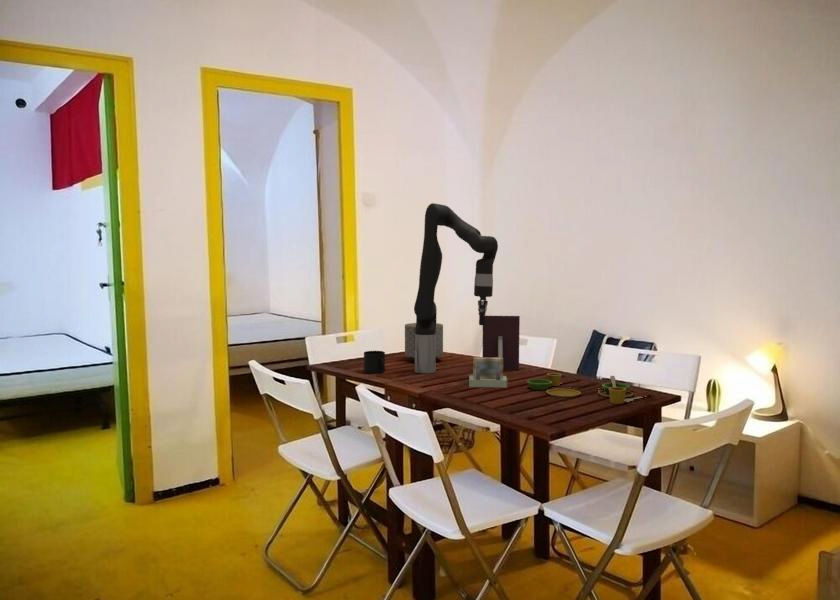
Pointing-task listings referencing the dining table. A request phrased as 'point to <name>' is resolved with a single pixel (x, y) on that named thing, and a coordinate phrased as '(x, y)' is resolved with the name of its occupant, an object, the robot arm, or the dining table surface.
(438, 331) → the planter
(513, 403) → the dining table surface
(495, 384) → the grey pronged block
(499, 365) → the panel
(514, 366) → the dark maroon upright block
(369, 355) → the mug
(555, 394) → the tableware set
